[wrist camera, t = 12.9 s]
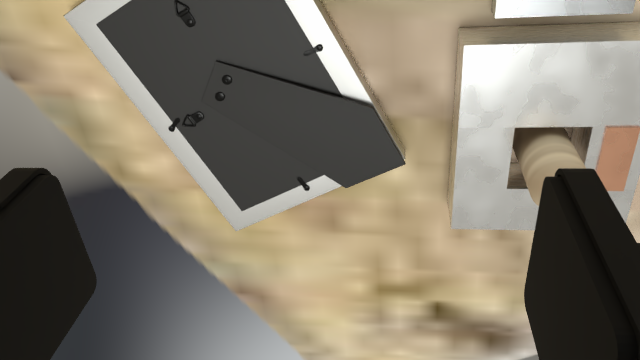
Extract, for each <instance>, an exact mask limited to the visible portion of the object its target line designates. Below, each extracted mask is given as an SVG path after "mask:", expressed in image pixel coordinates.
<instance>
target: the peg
mask: <svg viewBox="0 0 640 360" xmlns="http://www.w3.org/2000/svg"><path fill="white" fill-rule="evenodd" d="M512 146H513V149H514V151H515V154H516V157H517V160H518V162H519V165H520V168H521V171H522V174H523V176H524V179H525V182H526V185H527V187H528V190H529V193H530V196H531V198H532V200H533V201H534V203H535V204H536V205H538V206H539V203H540V197H541V192H542V186H543V181H544V179H545V177H546V176H553V177H554V176H555V173H556V171H557V170H558V169H559V168H586V167H585V165H584V163H583V162H582V160H581V158H580V156H579V154H578V153H577V151H576V149H575V147H574V145H573V144H572V142H571V140H570V138H569V136H568V135H567V133H566V131H565V129H564V127H519V128H515V130H514V138H513V145H512Z"/></svg>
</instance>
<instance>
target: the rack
mask: <svg viewBox="0 0 640 360" xmlns="http://www.w3.org/2000/svg"><path fill="white" fill-rule="evenodd" d="M635 1H636V0H493V2H492V13H493V15H494V17H495V18H517V17H545V16H573V15H600V14H628V13H633V9H634V5H635ZM519 127H573V131H572V136H571V142H572V144H573V145H574V147H575V149H576V151H577V153H578V154H579V156H580V158H581V160H582V162H583V163H584V165H585V167H586V168H591V169H594V170H595V171H596V173H597V174H598V176H599V178H600V180H601V181H602V183H603V185H604V186H605V188H606V190H607V192H608V193H609V195H610V197H611V199H612V200H613V202H614V204H615V206H616V207H617V209H618V211H619V213H620V214H621V216H622V218H623V220H624V221H625V223H626V220H627V217H628V213H629V210H630V206H631V203H632V199H633V196H634V192H635V189H636V185H637V182H638V178H639V175H640V22H618V23H589V24H560V25H530V26H501V27H472V28H459V32H458V48H457V63H456V79H455V94H454V110H453V125H452V141H451V156H450V172H449V187H448V209H449V217H450V224H451V229H490V230H535V226H536V220H537V215H538V209H539V206H538V205H536V204H535V203H534V201H533V200H532V198H531V196H530V193H529V190H528V187H527V185H526V182H525V179H524V176H523V174H522V171H521V168H520V165H519V163H510V160H511V153H512V145H513V138H514V130H515V128H519Z"/></svg>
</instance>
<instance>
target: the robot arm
mask: <svg viewBox="0 0 640 360" xmlns="http://www.w3.org/2000/svg"><path fill="white" fill-rule="evenodd" d="M95 288H96V274H95V272H94V269H93V266H92V264H91V261H90V259H89V256H88V254H87V252H86V249H85V246H84V243H83V241H82V238H81V236H80V233H79V231H78V228H77V225H76V223H75V221H74V218H73V215H72V213H71V211H70V208H69V205H68V202H67V200H66V197H65V195H64V192H63V189H62V187H61V184H60V182H59V180H58V179H57V177H55V176H53V175H51V173H50V172H49V171H48V170H47V169H44V168H15V169H12V170H11V171H9V172H8V173H7V174H6V175H5V176H4V177H3V178H2V179H1V180H0V360H50V359H51V357H52V356H53V354H54V353H55V351H56V350H57V348H58V347H59V345H60V344H61V342H62V340H63V339H64V337H65V336H66V334H67V333H68V331H69V330H70V328H71V327H72V325H73V324H74V322H75V321H76V319H77V318H78V316H79V314H80V313H81V311H82V310H83V308H84V307H85V305H86V304H87V302H88V301H89V299H90V298H91V296H92V294H93V293H94V290H95ZM524 299H525V307H526V311H527V315H528V319H529V323H530V326H531V330H532V334H533V338H534V341H535V345H536V349H537V353H538V356H539V360H640V243H637V242H636V241H635V239H634V237H633V235H632V234H631V232H630V230H629V228H628V227H627V225H626V223H625V221H624V220H623V218H622V216H621V214H620V213H619V211H618V209H617V207H616V206H615V204H614V202H613V200H612V199H611V197H610V195H609V193H608V192H607V190H606V188H605V186H604V185H603V183H602V181H601V180H600V178H599V176H598V174H597V173H596V171H595V170H594V169H591V168H559V169H558V170H557V171H556V173H555V176H554V177H553V176H546V177H545V179H544V181H543V186H542V192H541V197H540V203H539V209H538V215H537V220H536V226H535V232H534V237H533V243H532V249H531V255H530V260H529V266H528V272H527V278H526V283H525V290H524Z"/></svg>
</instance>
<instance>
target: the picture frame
mask: <svg viewBox="0 0 640 360" xmlns="http://www.w3.org/2000/svg"><path fill="white" fill-rule="evenodd" d="M64 17H65V19H66V20H67V21H68V22H69V24H70V25H71V26H72V27H73V29H74V30H75V31H76V32H77V33H78V35H79V36H80V37H81V38H82V40H83V41H84V42H85V43H86V45H87V46H88V47H89V48H90V50H91V51H92V52H93V53H94V55H95V56H96V57H97V58H98V60H99V61H100V62H101V63H102V65H103V66H104V67H105V68H106V70H107V71H108V72H109V73H110V75H111V76H112V77H113V78H114V80H115V81H116V82H117V83H118V85H119V86H120V87H121V88H122V90H123V91H124V92H125V93H126V95H127V96H128V97H129V98H130V100H131V101H132V102H133V103H134V105H135V106H136V107H137V108H138V110H139V111H140V112H141V113H142V115H143V116H144V117H145V118H146V120H147V121H148V122H149V123H150V125H151V126H152V127H153V128H154V130H155V131H156V132H157V133H158V135H159V136H160V137H161V138H162V140H163V141H164V142H165V143H166V145H167V146H168V147H169V148H170V150H171V151H172V152H173V153H174V154H175V156H176V157H177V158H178V159H179V161H180V162H181V163H182V164H183V166H184V167H185V168H186V169H187V171H188V172H189V173H190V174H191V176H192V177H193V178H194V179H195V181H196V182H197V183H198V184H199V186H200V187H201V188H202V189H203V191H204V192H205V193H206V194H207V196H208V197H209V198H210V199H211V201H212V202H213V203H214V204H215V206H216V207H217V208H218V209H219V211H220V212H221V213H222V214H223V216H224V217H225V218H226V219H227V221H228V222H229V223H230V224H231V226H232V227H233V228H234V229H235V231H238V230H240V229H243V228H245V227H247V226H250V225H252V224H254V223H257V222H259V221H261V220H264V219H266V218H268V217H271V216H273V215H275V214H278V213H280V212H282V211H285V210H287V209H289V208H292V207H294V206H297V205H299V204H301V203H304V202H306V201H308V200H311V199H313V198H315V197H318V196H320V195H322V194H325V193H327V192H329V191H332V190H334V189H336V188H339V187H341V186H343V187H345V188H348V187H350V186H353V185H355V184H358V183H360V182H363V181H365V180H368V179H370V178H373V177H375V176H377V175H380V174H382V173H385V172H387V171H390V170H392V169H395V168H397V167H400V166H402V165H405V161H404V159H405V149H404V147H403V146H402V144H401V142H400V140H399V139H398V137H397V135H396V133H395V132H394V130H393V128H392V126H391V125H390V123H389V121H388V119H387V118H386V116H385V114H384V112H383V111H382V109H381V107H380V105H379V104H378V102H377V100H376V98H375V97H374V95H373V93H372V91H371V90H370V88H369V86H368V84H367V83H366V81H365V79H364V77H363V76H362V74H361V72H360V70H359V69H358V67H357V65H356V63H355V62H354V60H353V58H352V56H351V55H350V53H349V51H348V50H347V48H346V46H345V44H344V43H343V41H342V39H341V37H340V36H339V34H338V32H337V30H336V29H335V27H334V25H333V23H332V22H331V20H330V18H329V16H328V15H327V13H326V11H325V9H324V8H323V6H322V4H321V2H320V1H319V0H85V1H83V2H82V3H81V4H79V5H78V6H76V7H75V8H74V9H72V10H71V11H69V12H68V13H67V14H65V15H64Z"/></svg>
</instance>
